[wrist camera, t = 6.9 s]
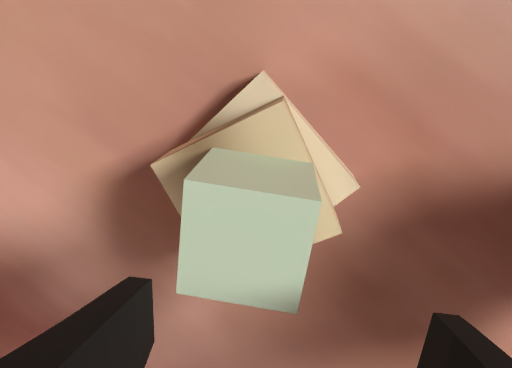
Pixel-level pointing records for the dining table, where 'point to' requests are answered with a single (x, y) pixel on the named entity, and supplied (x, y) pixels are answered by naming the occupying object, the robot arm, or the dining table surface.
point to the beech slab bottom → (325, 160)
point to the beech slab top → (250, 141)
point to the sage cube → (247, 229)
